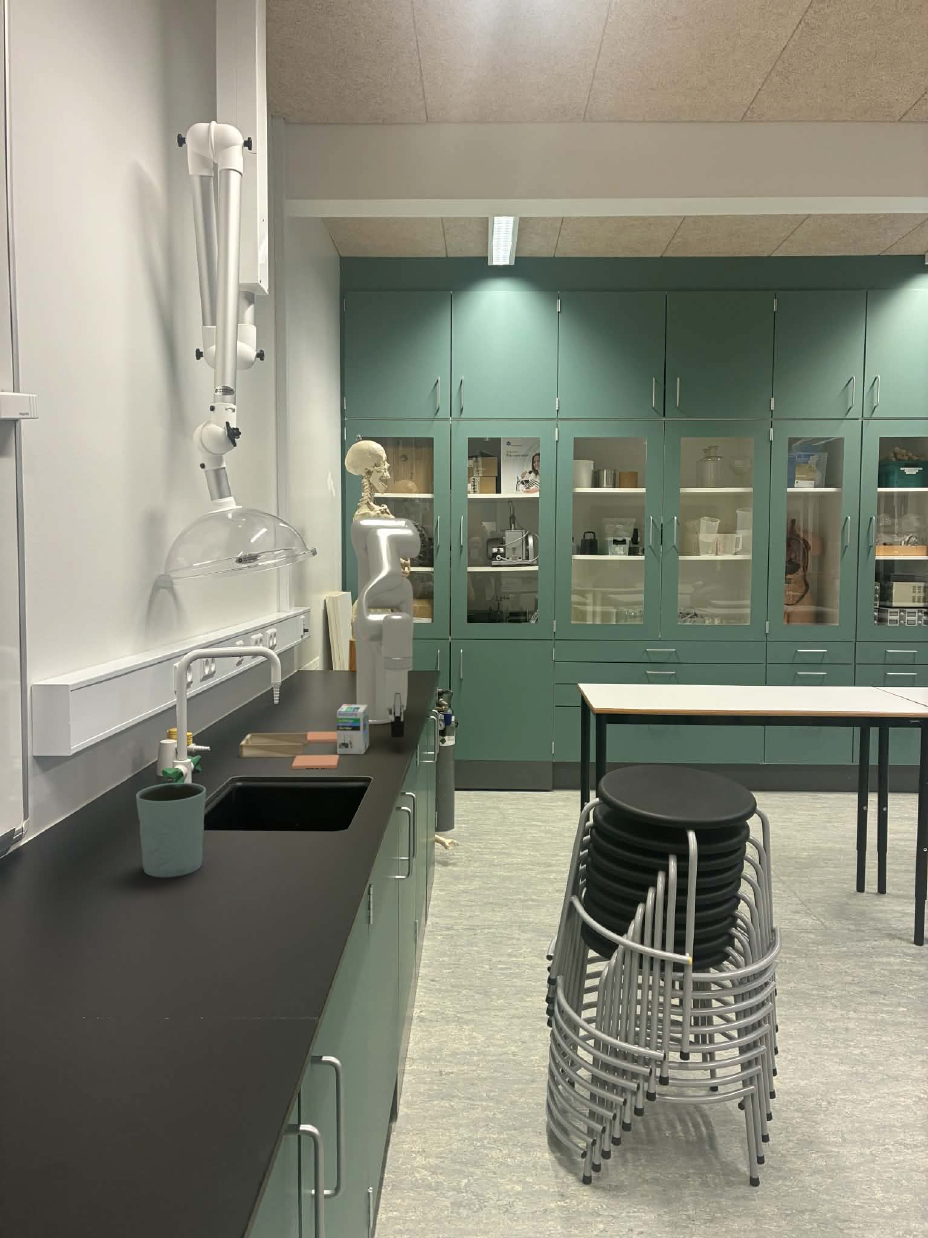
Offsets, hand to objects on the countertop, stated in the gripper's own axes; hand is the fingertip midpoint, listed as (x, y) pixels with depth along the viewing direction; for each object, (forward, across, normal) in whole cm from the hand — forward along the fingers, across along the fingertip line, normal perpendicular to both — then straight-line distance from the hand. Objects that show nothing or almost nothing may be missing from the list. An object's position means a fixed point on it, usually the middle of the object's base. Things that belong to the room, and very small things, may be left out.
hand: (397, 736), depth 212 cm
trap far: (+3, -14, -19) cm, 24 cm away
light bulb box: (+4, 0, -11) cm, 12 cm away
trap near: (+3, +14, -19) cm, 24 cm away
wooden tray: (+3, 0, -30) cm, 30 cm away
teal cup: (+5, +80, -35) cm, 87 cm away
